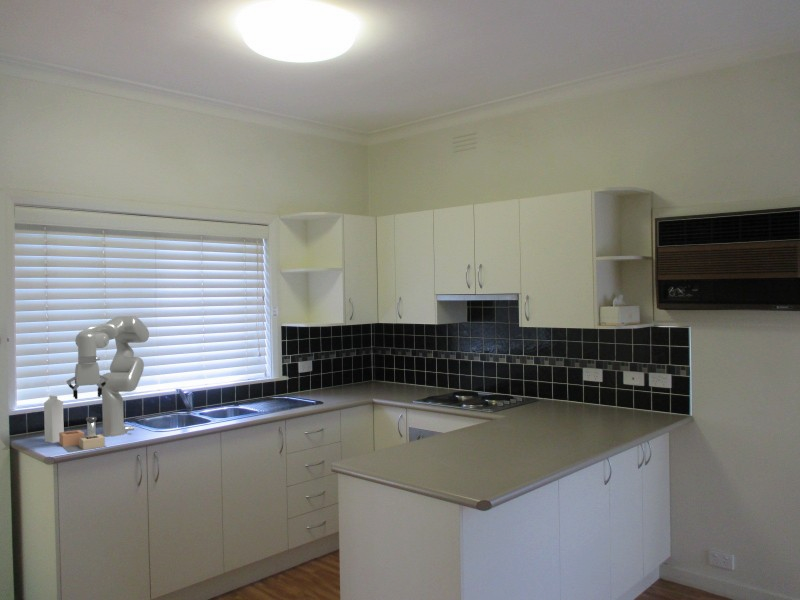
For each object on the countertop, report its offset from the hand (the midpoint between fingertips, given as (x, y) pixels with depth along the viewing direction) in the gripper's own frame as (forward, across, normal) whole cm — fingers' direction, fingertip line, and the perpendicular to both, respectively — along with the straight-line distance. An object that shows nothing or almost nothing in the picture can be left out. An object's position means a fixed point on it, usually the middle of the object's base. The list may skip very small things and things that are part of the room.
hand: (87, 397), depth 302 cm
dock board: (+23, +2, -5) cm, 24 cm away
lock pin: (+22, -1, +1) cm, 22 cm away
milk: (+23, +11, -27) cm, 37 cm away
